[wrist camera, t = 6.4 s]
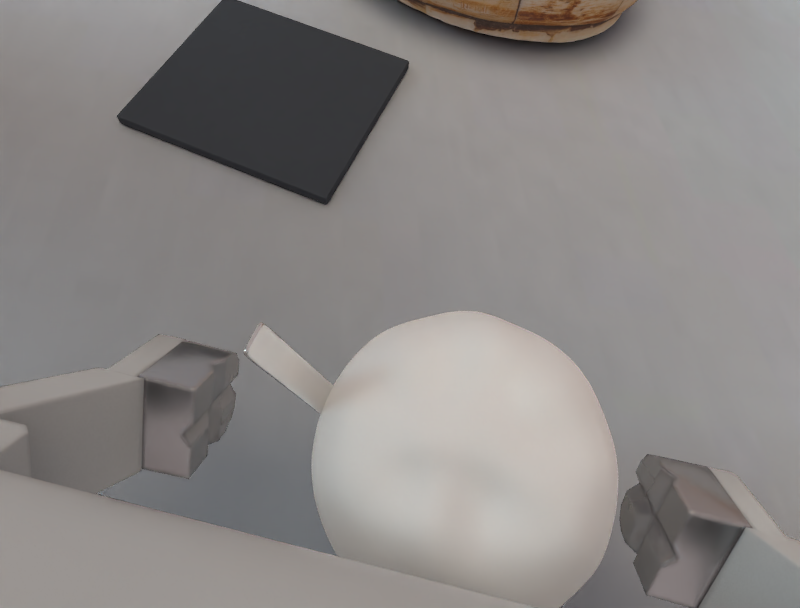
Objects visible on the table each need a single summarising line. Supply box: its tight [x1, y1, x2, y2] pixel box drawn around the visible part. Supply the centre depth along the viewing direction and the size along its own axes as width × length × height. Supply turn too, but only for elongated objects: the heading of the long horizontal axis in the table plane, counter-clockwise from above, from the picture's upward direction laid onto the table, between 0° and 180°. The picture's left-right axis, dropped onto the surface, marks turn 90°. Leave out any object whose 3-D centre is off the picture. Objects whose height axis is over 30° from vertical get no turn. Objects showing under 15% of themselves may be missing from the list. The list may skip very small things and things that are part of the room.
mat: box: [117, 0, 409, 204], centre depth 21 cm, size 9×8×1 cm
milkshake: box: [244, 311, 618, 608], centre depth 10 cm, size 4×5×10 cm
